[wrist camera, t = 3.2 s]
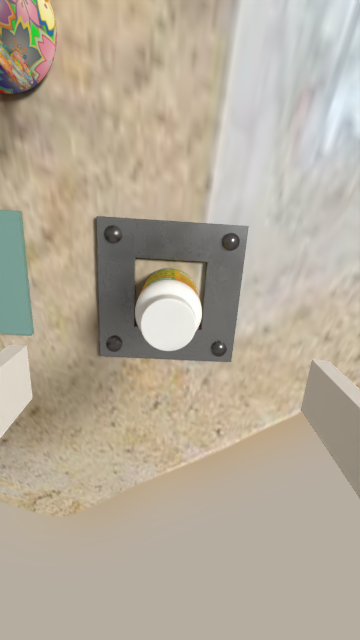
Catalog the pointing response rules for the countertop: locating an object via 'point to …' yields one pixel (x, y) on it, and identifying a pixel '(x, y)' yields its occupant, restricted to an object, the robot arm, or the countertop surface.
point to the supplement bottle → (168, 309)
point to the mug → (25, 43)
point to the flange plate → (173, 244)
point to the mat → (14, 277)
